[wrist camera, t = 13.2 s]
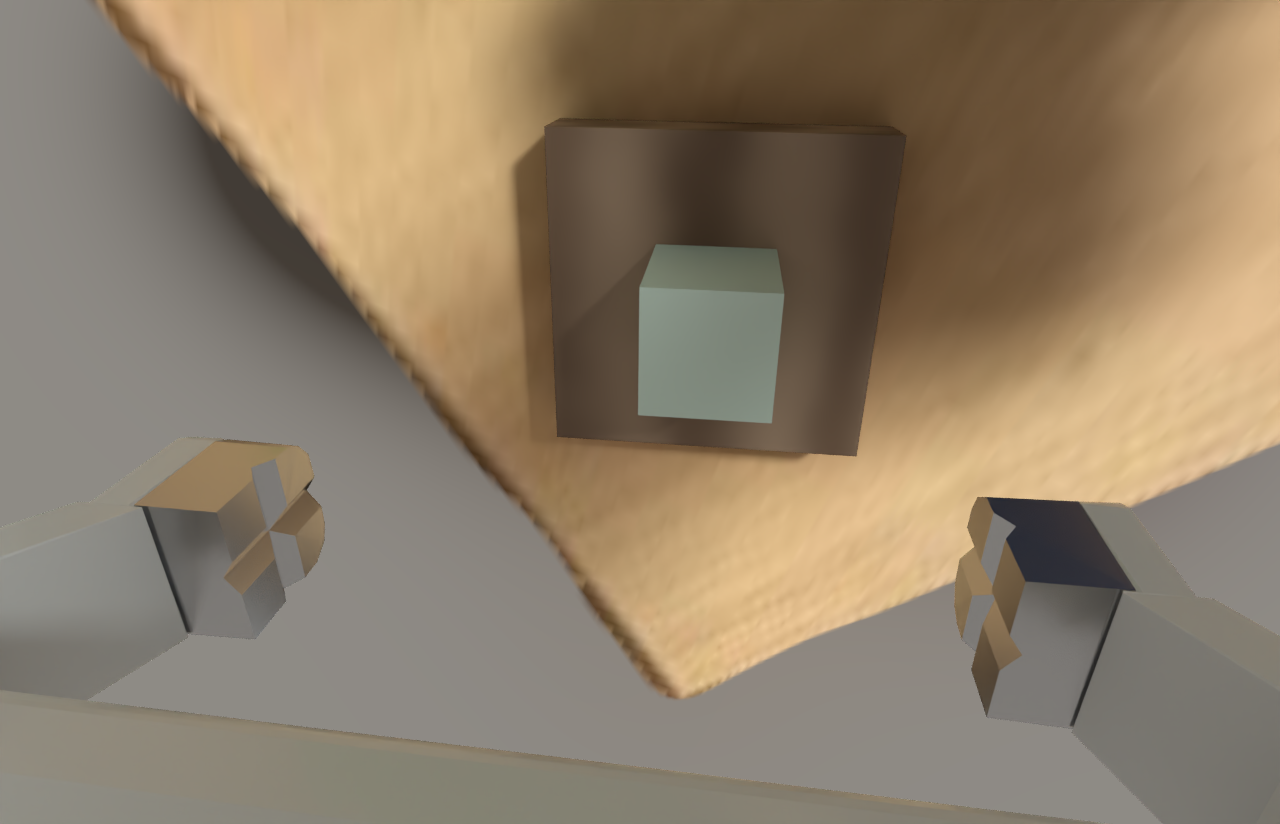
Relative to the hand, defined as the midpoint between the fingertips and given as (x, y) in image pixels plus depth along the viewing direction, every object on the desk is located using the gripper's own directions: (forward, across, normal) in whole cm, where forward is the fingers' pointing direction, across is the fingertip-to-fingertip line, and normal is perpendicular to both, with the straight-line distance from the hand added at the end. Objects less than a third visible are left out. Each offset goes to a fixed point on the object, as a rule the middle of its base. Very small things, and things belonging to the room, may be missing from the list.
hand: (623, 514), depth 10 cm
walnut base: (+27, 0, +6) cm, 28 cm away
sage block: (+24, 0, +6) cm, 25 cm away
